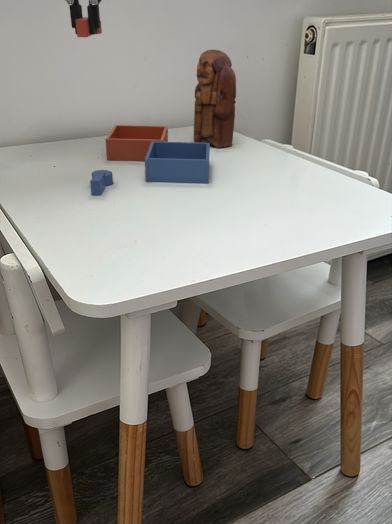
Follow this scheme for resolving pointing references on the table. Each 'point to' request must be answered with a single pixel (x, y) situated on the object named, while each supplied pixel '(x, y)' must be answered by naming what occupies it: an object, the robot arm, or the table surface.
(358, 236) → the table surface
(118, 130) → the red bin
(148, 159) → the blue bin
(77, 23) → the red curved block
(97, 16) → the robot arm
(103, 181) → the blue curved block
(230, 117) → the wooden figurine
